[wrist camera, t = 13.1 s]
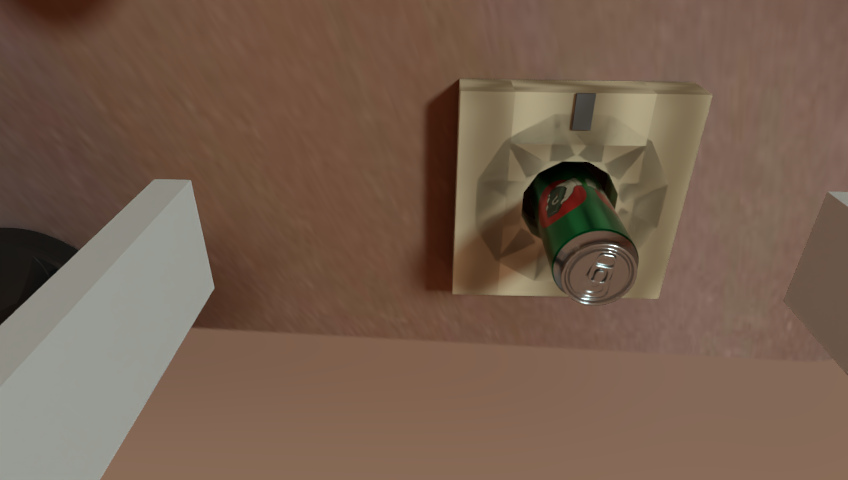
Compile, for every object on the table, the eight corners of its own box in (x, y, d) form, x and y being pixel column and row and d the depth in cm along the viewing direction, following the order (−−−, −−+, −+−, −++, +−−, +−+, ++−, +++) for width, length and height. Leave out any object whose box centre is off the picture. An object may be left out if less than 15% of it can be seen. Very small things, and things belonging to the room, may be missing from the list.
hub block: (451, 272, 47) (452, 295, 44) (459, 78, 39) (460, 92, 36) (646, 277, 47) (659, 300, 44) (694, 82, 39) (713, 95, 36)
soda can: (519, 209, 44) (543, 302, 34) (539, 149, 41) (571, 230, 31) (582, 222, 44) (624, 318, 34) (605, 163, 42) (659, 248, 31)
